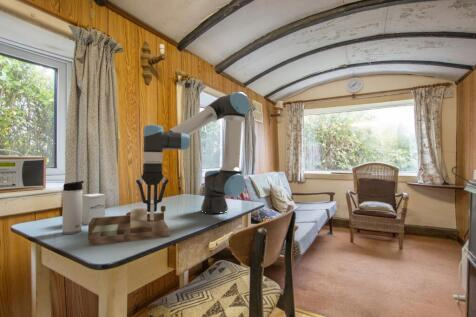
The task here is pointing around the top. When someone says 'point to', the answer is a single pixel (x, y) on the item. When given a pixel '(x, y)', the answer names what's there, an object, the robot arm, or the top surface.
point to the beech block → (138, 217)
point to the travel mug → (72, 208)
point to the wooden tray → (124, 229)
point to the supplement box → (92, 207)
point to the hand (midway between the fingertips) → (151, 219)
